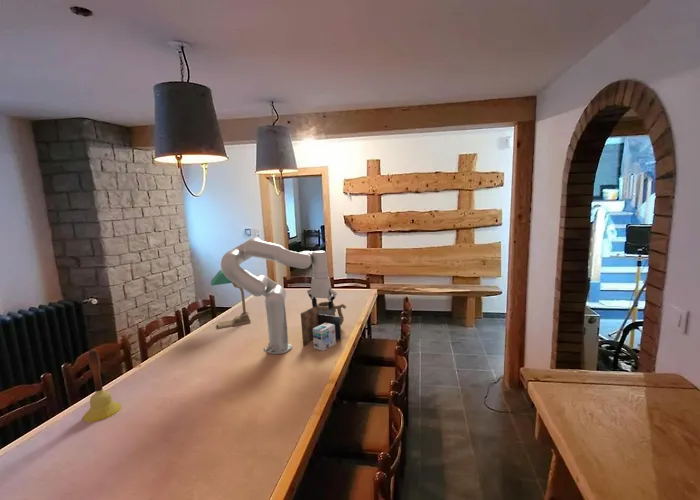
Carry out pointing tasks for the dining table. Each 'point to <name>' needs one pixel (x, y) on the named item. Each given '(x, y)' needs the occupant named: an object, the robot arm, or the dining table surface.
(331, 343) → the light bulb box
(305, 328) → the walnut wall
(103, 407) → the handbell
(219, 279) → the banker's lamp
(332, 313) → the tankard
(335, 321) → the bookend
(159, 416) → the dining table surface
